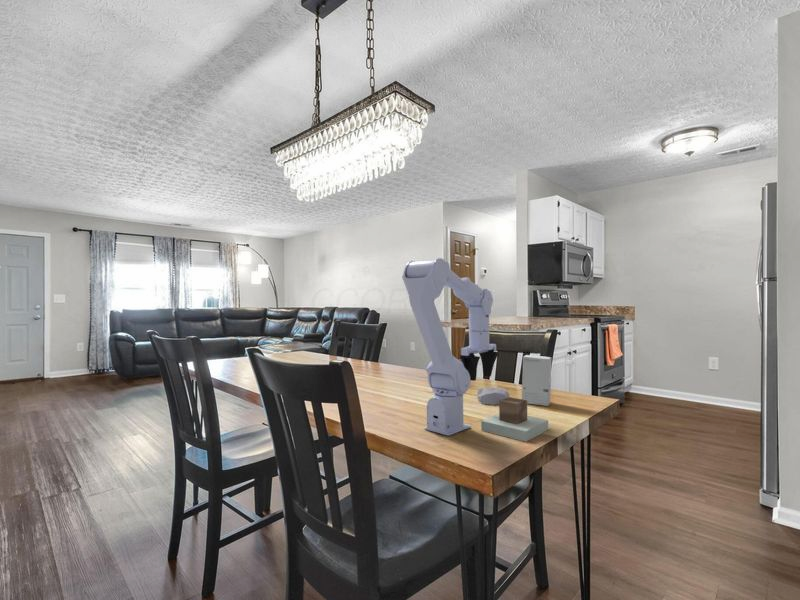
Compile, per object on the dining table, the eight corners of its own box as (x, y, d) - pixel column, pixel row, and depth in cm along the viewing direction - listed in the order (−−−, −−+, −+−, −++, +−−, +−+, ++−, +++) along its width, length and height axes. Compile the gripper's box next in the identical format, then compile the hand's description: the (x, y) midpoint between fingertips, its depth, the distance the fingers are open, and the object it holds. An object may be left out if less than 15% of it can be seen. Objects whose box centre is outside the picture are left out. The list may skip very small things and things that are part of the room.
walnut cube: (517, 424, 97) (517, 404, 97) (499, 420, 100) (499, 400, 100) (527, 420, 100) (527, 400, 100) (509, 416, 104) (509, 397, 104)
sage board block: (526, 444, 92) (525, 431, 92) (481, 432, 100) (481, 420, 100) (548, 431, 100) (548, 419, 100) (505, 422, 109) (505, 411, 109)
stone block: (481, 411, 125) (512, 405, 124) (477, 395, 125) (509, 389, 124) (477, 403, 137) (506, 397, 136) (474, 389, 137) (503, 383, 136)
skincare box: (521, 403, 126) (521, 356, 126) (525, 399, 131) (524, 354, 131) (549, 406, 122) (549, 358, 122) (552, 402, 127) (551, 355, 127)
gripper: (475, 333, 106) (476, 384, 106) (504, 329, 116) (505, 376, 116) (454, 331, 111) (455, 380, 111) (484, 328, 121) (485, 373, 121)
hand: (479, 378), depth 114 cm, fingers open, 7 cm apart
